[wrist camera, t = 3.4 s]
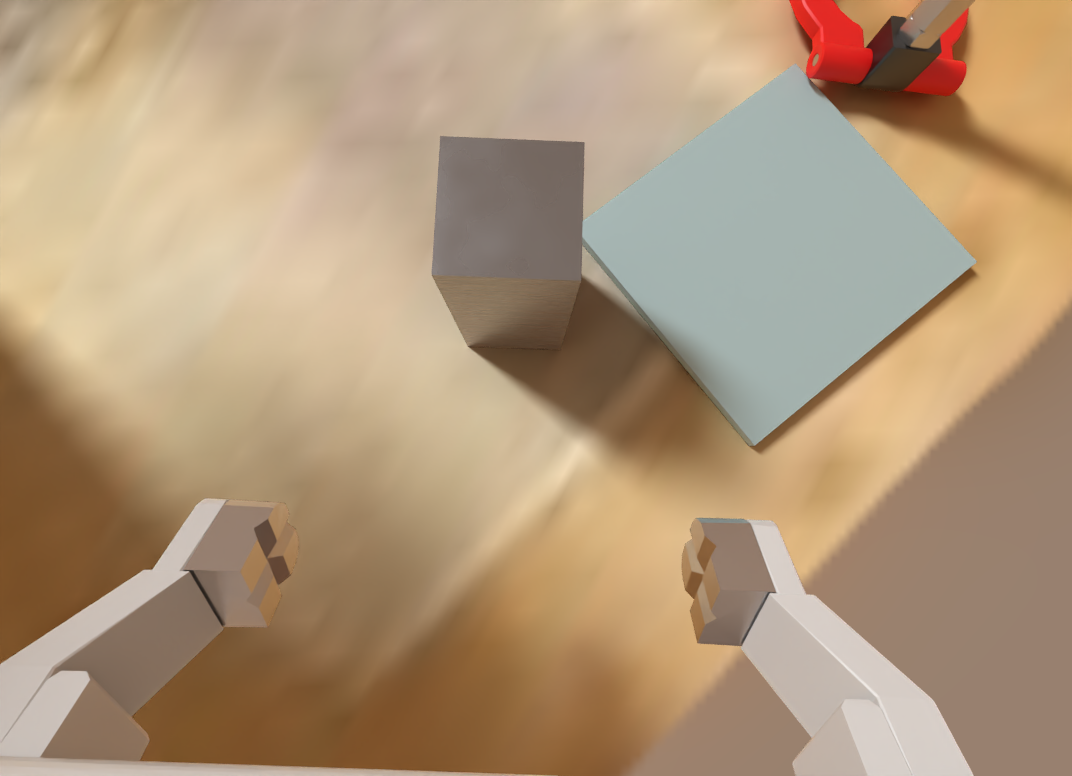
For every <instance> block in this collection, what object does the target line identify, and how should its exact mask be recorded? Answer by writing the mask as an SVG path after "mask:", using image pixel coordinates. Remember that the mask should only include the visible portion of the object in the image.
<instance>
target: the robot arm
mask: <svg viewBox="0 0 1072 776" xmlns="http://www.w3.org/2000/svg"><path fill="white" fill-rule="evenodd" d="M289 515H290V513H289V510H288V508H287V506H286V503H279V502H263V501H248V500H233V499H212V498H205V499H203V500H202V501H201V502H199V503H198V504H197V505H196V506H195V507H194V509H193V510H192V512H191V513H190V515H189V516H188V518H187V519H186V521H185V522H184V524H183V525H182V527H181V528H180V530H179V531H178V532H177V534H176V535H175V537H174V538H173V540H172V541H171V543H170V544H169V546H168V547H167V549H166V550H165V552H164V553H163V555H162V556H161V557H160V559H159V560H158V562H157V563H156V565H155V566H154V568H153V569H152V570H143V571H141V572H140V573H138V574H137V575H135V576H134V577H132V578H131V579H129V580H128V581H126V582H125V583H123V584H122V585H120V586H118V587H117V588H115V589H114V590H112V591H111V592H109V593H108V594H106V595H105V596H103V597H102V598H100V599H99V600H97V601H96V602H94V603H93V604H91V605H89V606H88V607H86V608H85V609H83V610H82V611H80V612H79V613H77V614H76V615H74V616H73V617H71V618H70V619H68V620H67V621H65V622H64V623H62V624H61V625H59V626H57V627H56V628H54V629H53V630H51V631H50V632H48V633H47V634H45V635H44V636H42V637H41V638H39V639H38V640H36V641H35V642H33V643H32V644H30V645H28V646H27V647H25V648H24V649H22V650H21V651H19V652H18V653H16V654H15V655H13V656H12V657H10V658H9V659H7V660H6V661H4V662H3V663H1V664H0V776H556V775H528V774H499V773H471V772H443V771H414V770H386V769H358V768H329V767H300V766H272V765H243V764H214V763H186V762H157V761H140V759H141V757H142V755H143V753H144V751H145V749H146V747H147V745H148V743H149V742H150V740H149V737H148V734H147V732H146V731H145V730H144V729H143V728H142V727H141V726H140V725H139V724H138V723H137V722H136V721H135V720H134V719H133V718H132V716H133V715H134V714H135V713H136V712H137V711H138V710H139V709H140V708H141V707H142V706H143V705H144V704H145V703H146V702H148V701H149V700H150V699H151V698H152V697H153V696H154V695H155V694H156V693H157V692H158V691H159V690H160V689H161V688H162V687H163V686H164V685H166V684H167V683H168V682H169V681H170V680H171V679H172V678H173V677H174V676H175V675H176V674H177V673H178V672H179V671H180V670H181V669H182V668H183V667H185V666H186V665H187V664H188V663H189V662H190V661H191V660H192V659H193V658H194V657H195V656H196V655H197V654H198V653H199V652H200V651H201V650H202V649H204V648H205V647H206V646H207V645H208V644H209V643H210V642H211V641H212V640H213V639H214V638H215V637H216V636H217V635H218V634H219V633H220V632H221V631H223V627H268V626H269V624H270V622H271V619H272V617H273V615H274V613H275V610H276V608H277V606H278V603H279V601H280V599H281V597H282V594H281V591H280V588H279V584H280V583H282V582H283V581H284V580H285V579H287V578H288V577H289V576H290V575H291V573H292V571H293V569H294V566H295V564H296V560H297V555H298V549H299V542H298V535H297V532H296V529H295V528H294V527H293V526H291V525H290V524H288V523H287V520H288V517H289ZM690 532H691V536H692V539H691V540H690V541H688V542H687V543H685V546H684V550H683V554H682V576H683V582H684V587H685V590H686V591H687V592H688V594H689V595H690V596H691V597H692V598H693V599H694V601H693V604H692V607H691V609H690V613H691V618H692V622H693V626H694V631H695V635H696V639H697V643H701V644H717V645H732V646H742V647H741V649H742V651H743V652H744V653H745V654H746V656H747V657H748V658H749V659H750V661H751V662H752V663H753V664H754V666H755V667H756V668H757V669H758V670H759V672H760V673H761V674H762V676H763V677H764V678H765V679H766V681H767V682H768V683H769V685H770V686H771V687H772V688H773V690H774V691H775V692H776V693H777V695H778V696H779V697H780V698H781V700H782V701H783V702H784V703H785V705H786V706H787V707H788V708H789V710H790V711H791V712H792V713H793V715H794V716H795V717H796V719H797V720H798V721H799V722H800V724H801V725H802V726H803V727H804V728H805V730H806V731H807V732H808V734H809V735H810V736H811V737H812V739H811V740H810V741H809V742H808V743H807V745H806V746H805V747H804V748H803V749H802V750H801V752H800V753H799V754H798V755H797V756H796V758H795V759H794V761H793V763H792V765H793V769H794V772H795V775H796V776H974V775H973V773H972V771H971V770H970V768H969V766H968V764H967V762H966V760H965V758H964V757H963V755H962V753H961V751H960V749H959V747H958V745H957V743H956V742H955V740H954V738H953V736H952V734H951V732H950V730H949V728H948V727H947V725H946V723H945V721H944V719H943V717H942V715H941V713H940V711H939V710H938V708H937V706H936V704H935V702H934V700H932V699H931V698H930V697H929V696H928V695H927V694H926V693H925V692H923V691H922V690H921V689H920V688H919V687H918V686H917V685H915V684H914V683H913V682H912V681H911V680H910V679H909V678H908V677H906V676H905V675H904V674H903V673H902V672H901V671H899V670H898V669H897V668H896V667H895V666H894V665H893V664H892V663H891V662H889V661H888V660H887V659H886V658H885V657H884V656H883V655H882V654H880V653H879V652H878V651H877V650H876V649H875V648H873V646H871V645H870V644H869V643H868V642H867V641H866V640H865V639H863V638H862V637H861V636H860V635H859V634H858V633H857V632H856V631H854V630H853V629H852V628H851V627H850V626H849V625H848V624H846V623H845V622H844V621H843V620H842V619H841V618H840V617H839V616H837V615H836V614H835V613H834V612H833V611H832V610H831V609H830V608H828V607H827V606H826V605H825V604H824V603H823V602H821V601H820V600H819V599H818V598H817V597H816V596H815V595H808V594H806V592H805V590H804V588H803V585H802V583H801V581H800V578H799V576H798V574H797V571H796V569H795V567H794V564H793V562H792V560H791V557H790V555H789V553H788V550H787V548H786V546H785V543H784V541H783V539H782V536H781V534H780V532H779V529H778V527H777V525H776V524H775V523H774V522H773V521H768V520H744V519H723V518H696V519H695V520H694V521H693V522H692V525H691V528H690Z"/></svg>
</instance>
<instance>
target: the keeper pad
mask: <svg viewBox="0 0 1072 776" xmlns="http://www.w3.org/2000/svg"><path fill="white" fill-rule="evenodd" d="M582 244H583V246H584V247H585V248H586V249H587V250H588V252H589V253H590V254H591V255H592V256H593V258H594V259H595V260H596V261H597V262H598V264H599V265H600V266H601V267H602V269H603V270H604V271H605V272H606V273H607V275H608V276H609V277H610V278H611V279H612V281H613V282H614V283H615V284H616V286H617V287H618V288H619V289H620V290H621V292H622V293H623V294H624V295H625V296H626V298H627V299H628V300H629V301H630V302H631V304H632V305H633V306H634V307H635V309H636V310H637V311H638V312H639V313H640V315H641V316H642V317H643V318H644V319H645V321H646V322H647V323H648V324H649V325H650V327H651V328H652V329H653V330H654V332H655V333H656V334H657V335H658V336H659V338H660V339H661V340H662V341H663V342H664V344H665V345H666V346H667V347H668V349H669V350H670V351H671V352H672V353H673V355H674V356H675V357H676V358H677V359H678V361H679V362H680V363H681V364H682V365H683V367H684V368H685V369H686V370H687V372H688V373H689V374H690V375H691V376H692V378H693V379H694V380H695V381H696V382H697V384H698V385H699V386H700V387H701V388H702V390H703V391H704V392H705V393H706V395H707V396H708V397H709V398H710V399H711V401H712V402H713V403H714V404H715V405H716V407H717V408H718V409H719V410H720V412H721V413H722V414H723V415H724V416H725V418H726V419H727V420H728V421H729V422H730V424H731V425H732V426H733V427H734V428H735V430H736V431H737V432H738V433H739V435H740V436H741V437H742V438H743V439H744V441H745V442H746V443H747V444H748V445H749V446H755V445H756V444H757V443H759V442H760V441H761V440H762V439H763V438H765V437H766V436H767V435H768V434H769V433H771V432H772V431H773V430H774V429H775V428H777V427H778V426H779V425H780V424H781V423H783V422H784V421H785V420H786V419H788V418H789V417H790V416H791V415H792V414H794V413H795V412H796V411H797V410H798V409H800V408H801V407H802V406H803V405H804V404H806V403H807V402H808V401H809V400H810V399H812V398H813V397H814V396H815V395H817V394H818V393H819V392H820V391H821V390H823V389H824V388H825V387H826V386H827V385H829V384H830V383H831V382H832V381H833V380H835V379H836V378H837V377H838V376H839V375H841V374H842V373H843V372H844V371H846V370H847V369H848V368H849V367H850V366H852V365H853V364H854V363H855V362H856V361H858V360H859V359H860V358H861V357H862V356H864V355H865V354H866V353H867V352H868V351H870V350H871V349H872V348H873V347H875V346H876V345H877V344H878V343H879V342H881V341H882V340H883V339H884V338H885V337H887V336H888V335H889V334H890V333H891V332H893V331H894V330H895V329H896V328H897V327H899V326H900V325H901V324H902V323H904V322H905V321H906V320H907V319H908V318H910V317H911V316H912V315H913V314H914V313H916V312H917V311H918V310H919V309H920V308H922V307H923V306H924V305H925V304H927V303H928V302H929V301H930V300H931V299H933V298H934V297H935V296H936V295H937V294H939V293H940V292H941V291H942V290H943V289H945V288H946V287H947V286H948V285H949V284H951V283H952V282H953V281H954V280H956V279H957V278H958V277H959V276H960V275H962V274H963V273H964V272H965V271H966V270H968V269H969V268H970V267H971V266H972V265H974V264H975V263H976V262H977V261H976V260H975V259H974V258H973V257H972V256H971V255H970V254H969V253H968V251H967V250H966V249H965V248H964V247H963V246H962V245H961V244H960V243H959V242H958V241H957V239H956V238H955V237H954V236H953V235H952V234H951V233H950V232H949V231H948V230H947V229H946V227H945V226H944V225H943V224H942V223H941V222H940V221H939V220H938V219H937V218H936V217H935V215H934V214H933V213H932V212H931V211H930V210H929V209H928V208H927V207H926V206H925V204H924V203H923V202H922V201H921V200H920V199H919V198H918V197H917V196H916V195H915V194H914V192H913V191H912V190H911V189H910V188H909V187H908V186H907V185H906V184H905V183H904V182H903V180H902V179H901V178H900V177H899V176H898V175H897V174H896V173H895V172H894V171H893V170H892V168H891V167H890V166H889V165H888V164H887V163H886V162H885V161H884V160H883V159H882V157H881V156H880V155H879V154H878V153H877V152H876V151H875V150H874V149H873V148H872V147H871V145H870V144H869V143H868V142H867V141H866V140H865V139H864V138H863V137H862V136H861V135H860V133H859V132H858V131H857V130H856V129H855V128H854V127H853V126H852V125H851V124H850V123H849V121H848V120H847V119H846V118H845V117H844V116H843V115H842V114H841V113H840V112H839V111H838V109H837V108H836V107H835V106H834V105H833V104H832V103H831V102H830V101H829V100H828V98H827V97H826V96H825V95H824V94H823V93H822V92H821V91H820V90H819V89H818V88H817V86H816V85H815V84H814V83H813V82H812V81H811V80H810V79H809V78H808V77H807V76H806V74H805V73H804V72H803V71H802V70H801V69H800V68H799V67H798V66H797V65H796V64H794V65H793V66H791V67H790V68H788V69H787V70H786V71H784V72H783V73H782V74H780V75H779V76H778V77H776V78H775V79H774V80H772V81H771V82H770V83H768V84H767V85H766V86H764V87H763V88H762V89H760V90H759V91H757V92H756V93H755V94H753V95H752V96H751V97H749V98H748V99H747V100H745V101H744V102H743V103H741V104H740V105H739V106H737V107H736V108H735V109H733V110H732V111H731V112H729V113H728V114H726V115H725V116H724V117H722V118H721V119H720V120H718V121H717V122H716V123H714V124H713V125H712V126H710V127H709V128H708V129H706V130H705V131H704V132H702V133H701V134H700V135H698V136H697V137H695V138H694V139H693V140H691V141H690V142H689V143H687V144H686V145H685V146H683V147H682V148H681V149H679V150H678V151H677V152H675V153H674V154H673V155H671V156H670V157H668V158H667V159H666V160H664V161H663V162H662V163H660V164H659V165H658V166H656V167H655V168H654V169H652V170H651V171H650V172H648V173H647V174H646V175H644V176H643V177H642V178H640V179H639V180H637V181H636V182H635V183H633V184H632V185H631V186H629V187H628V188H627V189H625V190H624V191H623V192H621V193H620V194H619V195H617V196H616V197H615V198H613V199H612V200H611V201H609V202H608V203H606V204H605V205H604V206H602V207H601V208H600V209H598V210H597V211H596V212H594V213H593V214H592V215H590V216H589V217H588V218H586V219H585V220H584V221H583V226H582Z"/></svg>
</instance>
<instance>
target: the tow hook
mask: <svg viewBox="0 0 1072 776" xmlns="http://www.w3.org/2000/svg"><path fill="white" fill-rule="evenodd" d="M789 1H790V3H791V6H792V8H793V11H794V14H795V16H796V19H797V20H798V21H799V23H800V24H801V26H802V27H803V28H804V30H805V31H806V33H807V34H808V35H809V37H810V38H811V39H812V46H813V50H812V52H811V54H810V57H809V59H808V63H807V67H806V75H807V77H808V78H813V79H820V80H828V81H835V82H843V83H850V84H853V85H854V86H856V87H860V88H867V89H875V90H883V91H890V92H901V91H911V92H918V93H926V94H933V95H941V96H949V95H951V94H953V93H954V92H955V91H956V90H957V89H958V88H959V87H960V85H961V84H962V82H963V80H964V78H965V75H966V68H967V67H966V64H965V62H963V61H957V60H953V52H952V46H953V45H954V44H955V43H956V42H957V41H958V40H959V38H960V36H961V34H962V32H963V30H964V28H965V26H966V24H967V18H968V10H969V6H970V5H971V4H972V3H973V2H974V1H975V0H921V1H920V2H919V4H918V5H917V6H916V7H915V8H914V9H913V10H912V12H911V13H910V14H909V15H908V16H907V18H904V17H897V16H891V18H890V19H889V20H888V21H887V22H886V24H885V25H884V26H883V27H882V28H881V30H880V31H879V32H878V33H877V35H876V36H875V37H874V38H873V39H872V41H871V42H870V43H869V44H868V45H867V47H866V48H864V38H863V30H862V28H861V27H860V26H859V25H858V24H856V23H855V22H853V21H852V20H851V19H850V18H848V17H847V16H846V15H845V14H844V13H843V12H842V11H841V10H840V9H839V8H838V6H837V5H836V4H835V2H834V1H833V0H789Z"/></svg>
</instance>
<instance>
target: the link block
mask: <svg viewBox="0 0 1072 776" xmlns="http://www.w3.org/2000/svg"><path fill="white" fill-rule="evenodd" d="M583 183H584V142H565V141H541V140H517V139H493V138H469V137H445V136H440V151H439V167H438V183H437V199H436V215H435V231H434V247H433V263H432V276H433V278H434V280H435V282H436V284H437V286H438V288H439V290H440V292H441V294H442V296H443V298H444V300H445V302H446V304H447V306H448V308H449V310H450V312H451V314H452V316H453V318H454V320H455V322H456V324H457V326H458V328H459V330H460V332H461V334H462V336H463V338H464V340H465V342H466V343H467V345H468V347H492V348H519V349H546V350H561V346H562V343H563V340H564V336H565V333H566V330H567V326H568V323H569V320H570V316H571V313H572V310H573V306H574V303H575V300H576V296H577V293H578V290H579V286H580V283H581V268H582V226H583Z"/></svg>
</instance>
